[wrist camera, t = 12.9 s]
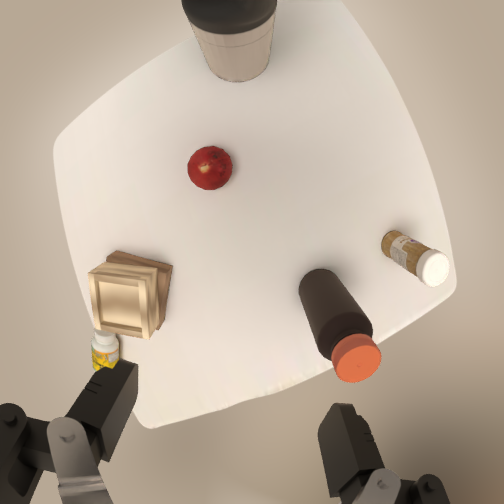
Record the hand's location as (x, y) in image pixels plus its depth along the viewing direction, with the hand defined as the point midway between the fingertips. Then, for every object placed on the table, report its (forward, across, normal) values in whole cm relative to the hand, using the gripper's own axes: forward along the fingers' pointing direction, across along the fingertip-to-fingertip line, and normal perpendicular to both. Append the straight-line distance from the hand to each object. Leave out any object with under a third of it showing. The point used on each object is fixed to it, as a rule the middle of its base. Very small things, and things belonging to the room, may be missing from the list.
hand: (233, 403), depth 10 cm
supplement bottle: (+30, +21, +32) cm, 49 cm away
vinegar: (+33, -13, +6) cm, 36 cm away
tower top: (+30, +15, +13) cm, 36 cm away
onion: (+33, +7, -8) cm, 35 cm away
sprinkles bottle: (+33, -23, -4) cm, 41 cm away
